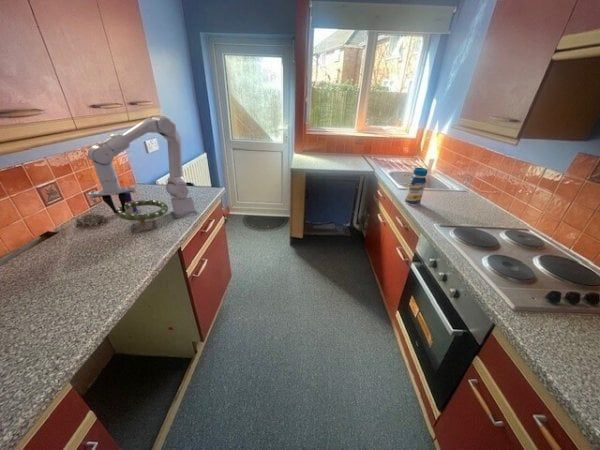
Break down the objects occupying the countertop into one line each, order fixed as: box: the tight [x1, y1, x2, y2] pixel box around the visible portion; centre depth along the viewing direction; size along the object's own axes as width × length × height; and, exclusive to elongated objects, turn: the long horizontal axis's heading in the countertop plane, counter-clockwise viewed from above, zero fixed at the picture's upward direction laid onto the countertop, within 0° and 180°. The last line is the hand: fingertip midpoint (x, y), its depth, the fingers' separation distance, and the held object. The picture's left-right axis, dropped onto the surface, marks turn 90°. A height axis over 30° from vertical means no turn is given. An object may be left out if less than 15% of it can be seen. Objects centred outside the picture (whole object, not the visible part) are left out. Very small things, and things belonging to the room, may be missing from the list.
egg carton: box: [72, 212, 106, 227], centre depth 109 cm, size 11×8×4 cm
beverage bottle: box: [404, 167, 429, 207], centre depth 139 cm, size 8×8×20 cm
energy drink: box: [124, 192, 138, 214], centre depth 118 cm, size 5×5×12 cm
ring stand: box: [138, 220, 147, 227], centre depth 108 cm, size 8×8×6 cm
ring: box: [115, 199, 169, 222], centre depth 104 cm, size 18×18×2 cm
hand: (119, 211), depth 100 cm, fingers closed on ring, 2 cm apart
